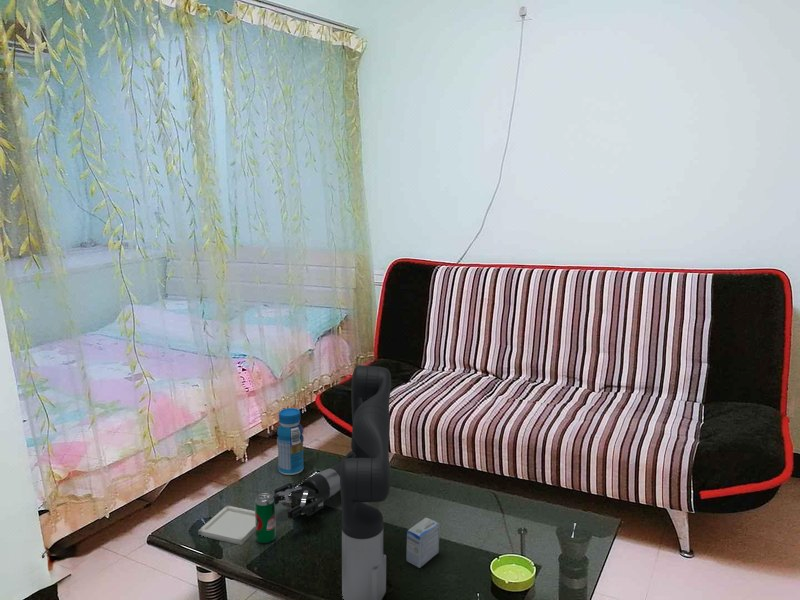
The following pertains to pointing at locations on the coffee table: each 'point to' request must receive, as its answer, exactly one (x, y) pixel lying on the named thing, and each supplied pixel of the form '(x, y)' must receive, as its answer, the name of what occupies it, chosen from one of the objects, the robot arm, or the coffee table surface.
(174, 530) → the coffee table surface
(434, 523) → the medicine box
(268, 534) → the soda can
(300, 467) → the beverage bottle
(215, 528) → the tray
